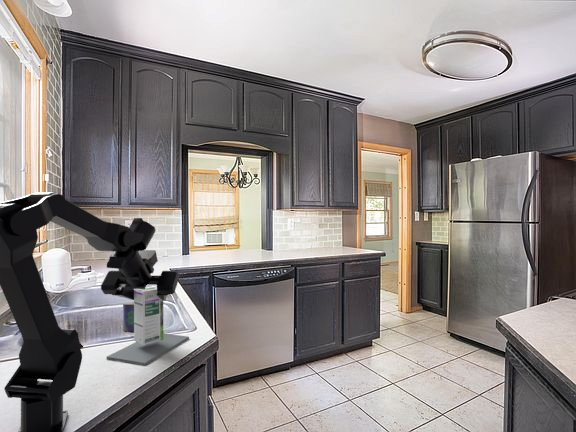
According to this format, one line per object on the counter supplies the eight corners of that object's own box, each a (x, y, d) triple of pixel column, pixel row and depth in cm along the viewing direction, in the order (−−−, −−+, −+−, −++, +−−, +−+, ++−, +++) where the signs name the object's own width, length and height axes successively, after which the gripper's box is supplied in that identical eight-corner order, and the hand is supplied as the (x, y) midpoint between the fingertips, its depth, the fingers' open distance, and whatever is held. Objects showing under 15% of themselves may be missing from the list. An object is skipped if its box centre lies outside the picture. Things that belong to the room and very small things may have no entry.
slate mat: (144, 365, 77) (144, 363, 77) (106, 359, 81) (106, 356, 81) (188, 338, 94) (188, 336, 94) (155, 334, 98) (155, 332, 98)
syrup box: (143, 346, 83) (143, 291, 83) (133, 340, 87) (133, 288, 87) (163, 340, 88) (164, 287, 88) (153, 335, 91) (153, 285, 92)
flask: (121, 332, 100) (121, 298, 100) (127, 328, 103) (128, 295, 103) (146, 334, 98) (146, 300, 98) (152, 331, 101) (152, 297, 101)
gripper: (177, 240, 84) (190, 275, 94) (107, 240, 84) (129, 275, 95) (164, 275, 76) (181, 309, 86) (88, 275, 76) (113, 308, 87)
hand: (151, 299), depth 89 cm, fingers closed on syrup box, 8 cm apart
